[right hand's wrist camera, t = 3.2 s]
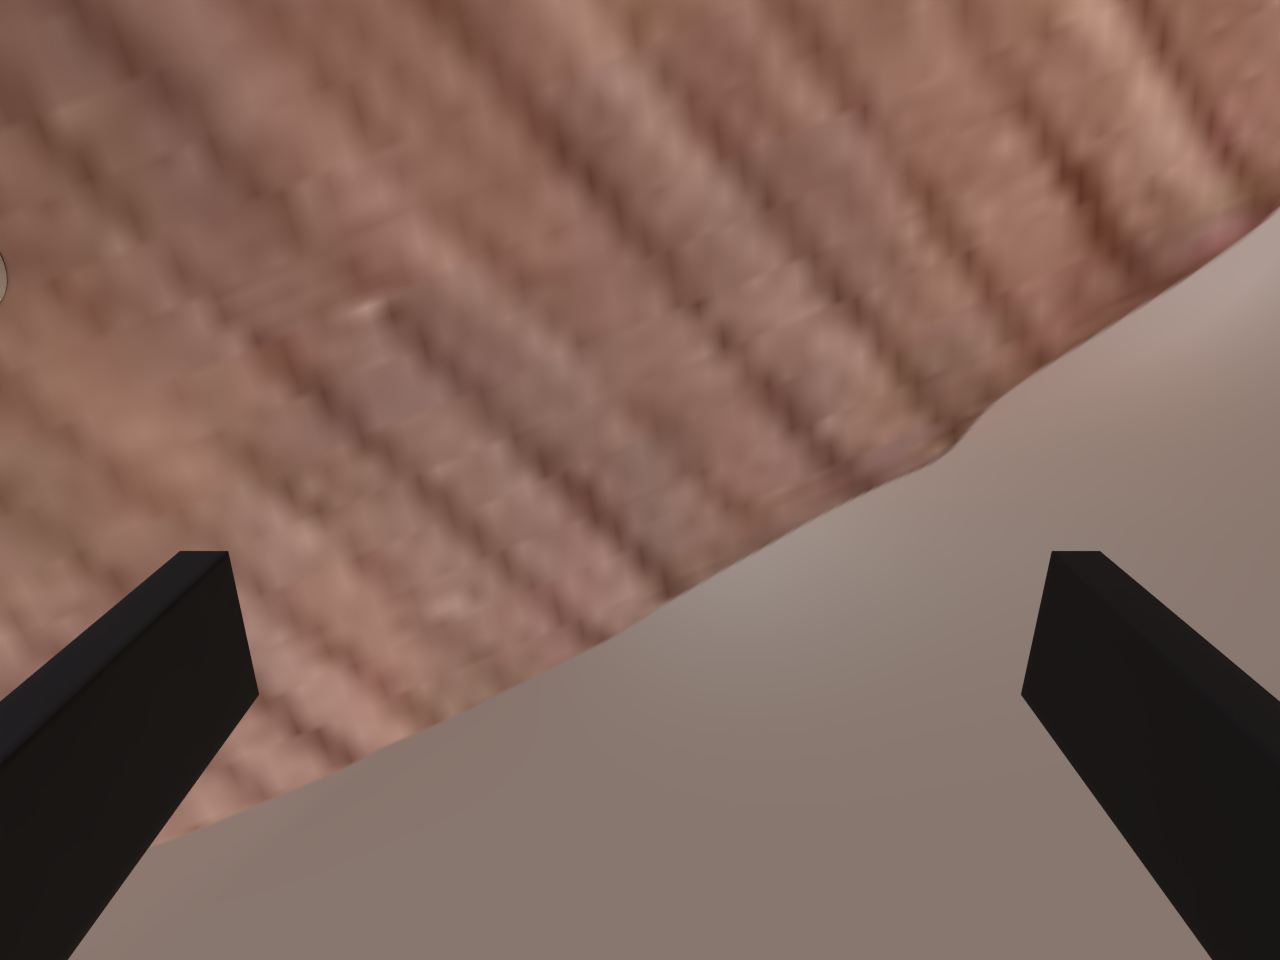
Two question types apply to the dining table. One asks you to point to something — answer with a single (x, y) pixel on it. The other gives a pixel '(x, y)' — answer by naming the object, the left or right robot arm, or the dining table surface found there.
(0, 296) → the bottle
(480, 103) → the dining table surface
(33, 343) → the dining table surface
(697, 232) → the dining table surface
